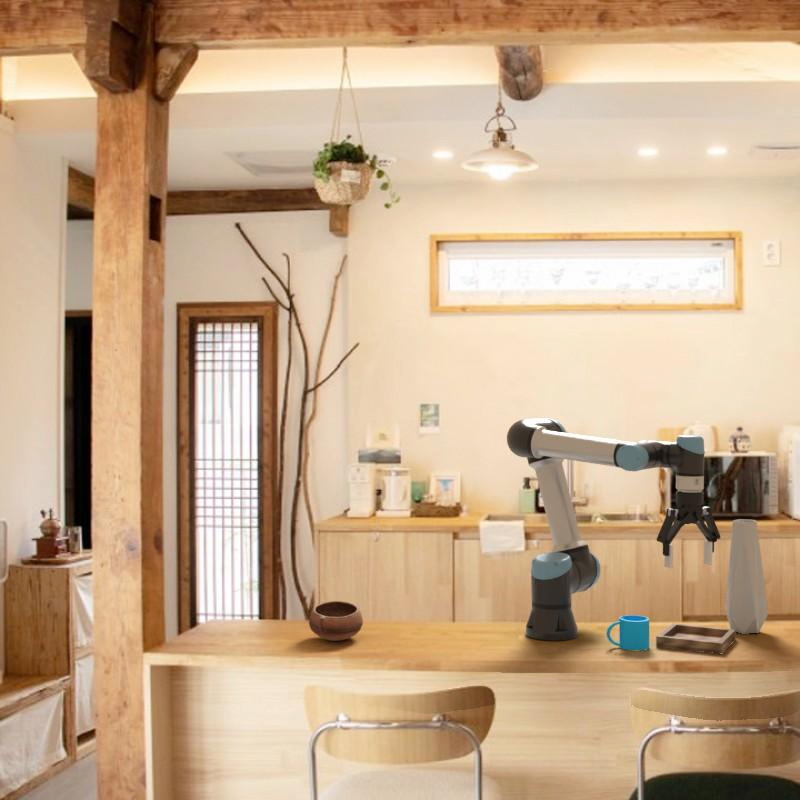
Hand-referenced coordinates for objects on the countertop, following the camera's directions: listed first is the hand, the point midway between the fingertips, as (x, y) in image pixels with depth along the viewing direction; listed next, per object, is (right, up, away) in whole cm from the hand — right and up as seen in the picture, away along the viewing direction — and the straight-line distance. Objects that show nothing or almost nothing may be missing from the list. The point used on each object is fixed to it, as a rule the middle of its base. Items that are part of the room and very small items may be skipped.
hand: (688, 565), depth 299 cm
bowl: (-100, -23, +10) cm, 103 cm away
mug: (-17, -23, -2) cm, 29 cm away
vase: (+22, -22, +15) cm, 35 cm away
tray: (+3, -22, +2) cm, 23 cm away
